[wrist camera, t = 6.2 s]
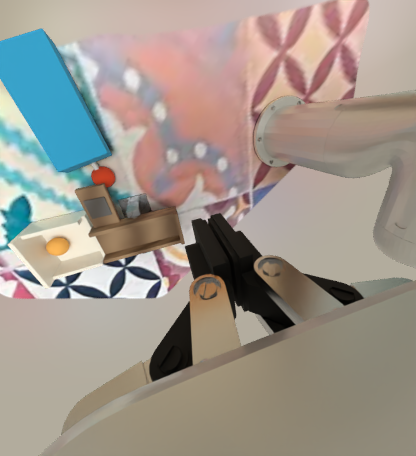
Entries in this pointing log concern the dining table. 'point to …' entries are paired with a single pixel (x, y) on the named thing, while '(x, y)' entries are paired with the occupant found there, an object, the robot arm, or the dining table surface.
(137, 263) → the dining table surface
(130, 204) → the stand
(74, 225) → the box
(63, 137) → the lever
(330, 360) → the robot arm
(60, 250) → the ball
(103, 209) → the brown shallow tray
